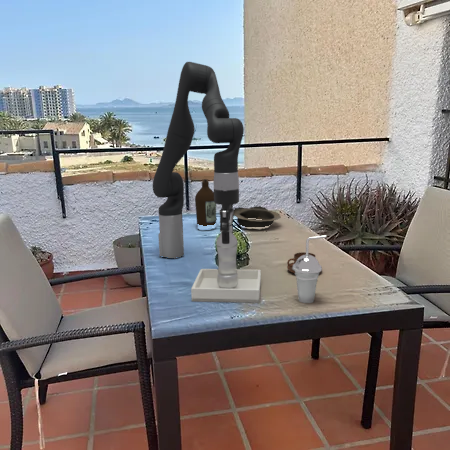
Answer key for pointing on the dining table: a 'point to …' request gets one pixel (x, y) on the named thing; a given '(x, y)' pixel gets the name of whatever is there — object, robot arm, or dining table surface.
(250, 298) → the tray
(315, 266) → the cup with straw
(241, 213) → the stone bowl
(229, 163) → the robot arm
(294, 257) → the cup and saucer
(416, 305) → the dining table surface
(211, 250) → the dining table surface
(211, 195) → the olive oil
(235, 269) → the plastic bottle
